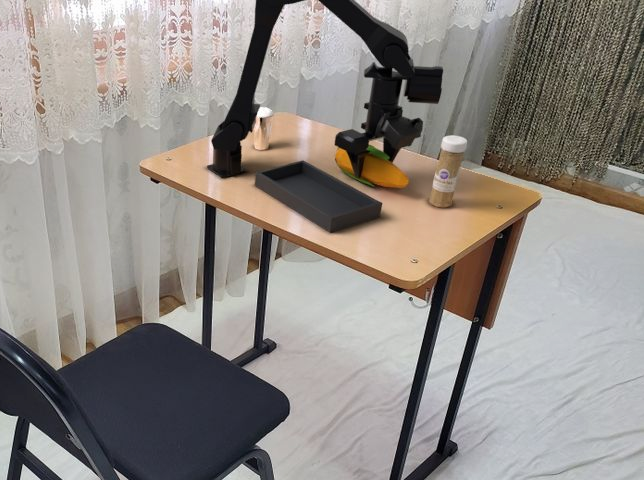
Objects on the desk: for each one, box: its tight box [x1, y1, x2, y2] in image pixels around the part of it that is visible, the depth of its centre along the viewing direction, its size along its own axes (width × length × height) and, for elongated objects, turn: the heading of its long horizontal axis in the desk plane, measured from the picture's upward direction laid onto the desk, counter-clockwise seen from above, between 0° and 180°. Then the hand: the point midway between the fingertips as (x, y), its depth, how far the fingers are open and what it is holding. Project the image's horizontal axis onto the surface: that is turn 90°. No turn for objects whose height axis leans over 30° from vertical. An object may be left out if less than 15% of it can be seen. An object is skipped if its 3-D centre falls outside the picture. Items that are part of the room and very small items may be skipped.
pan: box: [254, 159, 383, 233], centre depth 149 cm, size 25×13×3 cm, turn 31°
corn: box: [334, 144, 410, 189], centre depth 154 cm, size 7×8×20 cm
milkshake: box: [253, 106, 275, 151], centre depth 169 cm, size 4×5×10 cm
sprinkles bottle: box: [428, 135, 468, 208], centre depth 144 cm, size 5×5×14 cm
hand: (371, 173), depth 155 cm, fingers open, 8 cm apart
